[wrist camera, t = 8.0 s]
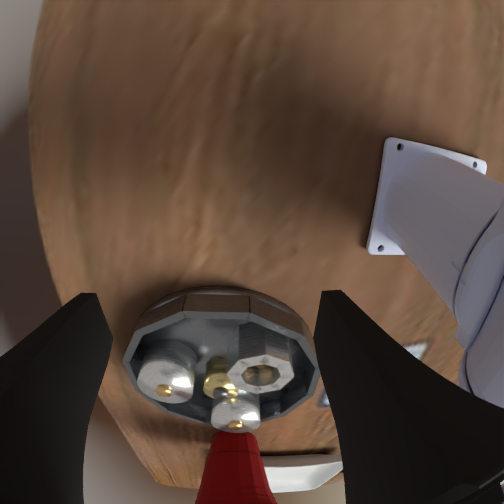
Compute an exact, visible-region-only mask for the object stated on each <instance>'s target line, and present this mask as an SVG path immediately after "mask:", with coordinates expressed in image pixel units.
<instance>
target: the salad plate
mask: <svg viewBox="0 0 504 504" xmlns="http://www.w3.org/2000/svg"><path fill="white" fill-rule="evenodd" d="M261 457H262V461H263V465H264V468H265V472H266V476H267V479H268V483H269V487H270V490H271V491H272V493H274V492H275V493H276V492H292V491H303V490H311V489H315V488H317V487H319V486H320V485H322V484H323V483H325V482H326V481H328V480H329V479H330V478H332V477H333V476H334V475H336V474H337V473H338V472H340V471H341V470H342V469H343V465H342V457H341V456H340V455H323V454H311V455H294V456H261Z"/></svg>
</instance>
